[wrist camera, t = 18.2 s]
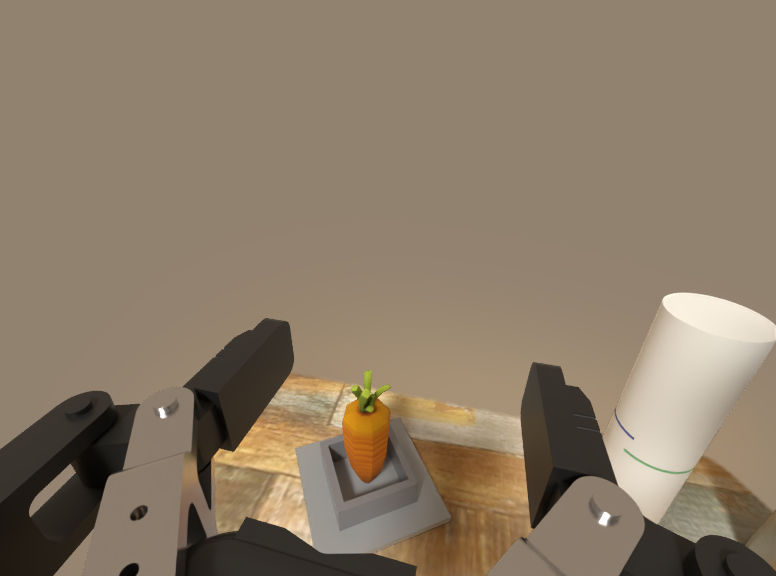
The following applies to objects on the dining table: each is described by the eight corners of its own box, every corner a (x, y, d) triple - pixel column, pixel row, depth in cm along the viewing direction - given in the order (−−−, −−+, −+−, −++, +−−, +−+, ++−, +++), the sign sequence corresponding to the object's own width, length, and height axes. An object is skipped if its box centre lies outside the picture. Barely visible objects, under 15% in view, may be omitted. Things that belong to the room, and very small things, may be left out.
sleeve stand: (399, 421, 50) (400, 400, 48) (450, 521, 38) (454, 498, 36) (296, 452, 45) (292, 430, 43) (318, 575, 34) (315, 553, 32)
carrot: (360, 455, 44) (358, 357, 37) (396, 473, 42) (401, 373, 35) (336, 489, 40) (328, 387, 33) (375, 511, 38) (375, 407, 31)
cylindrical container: (619, 471, 44) (710, 289, 32) (670, 533, 38) (807, 337, 26) (567, 481, 43) (641, 296, 31) (610, 547, 36) (725, 347, 25)
